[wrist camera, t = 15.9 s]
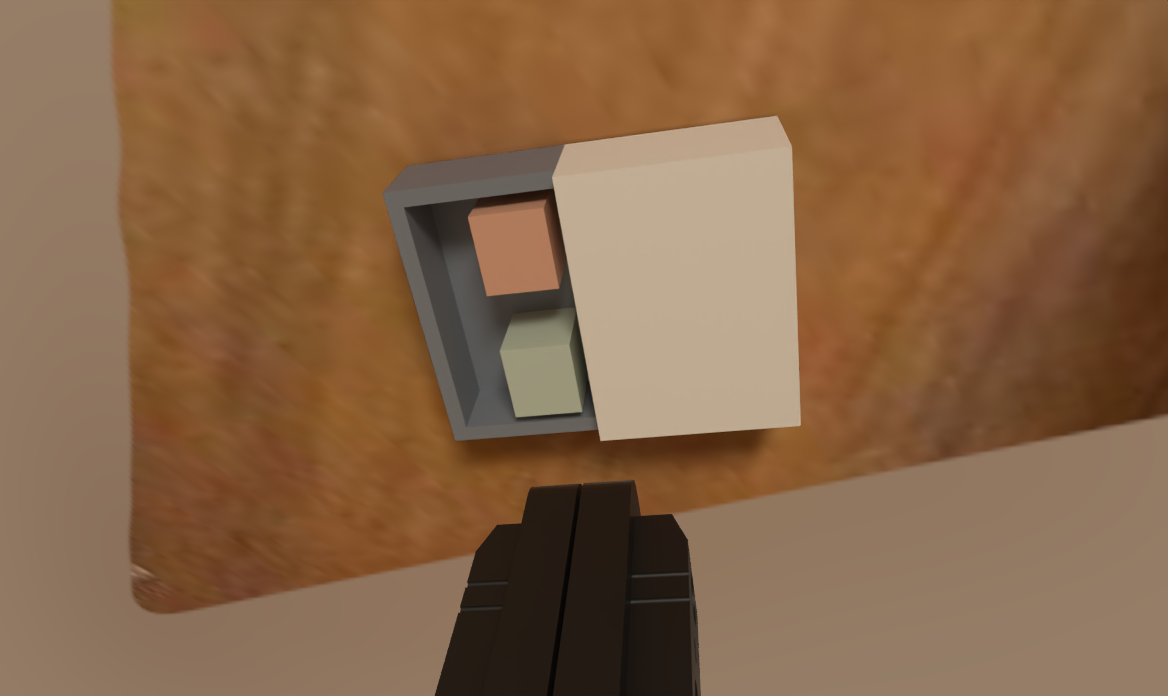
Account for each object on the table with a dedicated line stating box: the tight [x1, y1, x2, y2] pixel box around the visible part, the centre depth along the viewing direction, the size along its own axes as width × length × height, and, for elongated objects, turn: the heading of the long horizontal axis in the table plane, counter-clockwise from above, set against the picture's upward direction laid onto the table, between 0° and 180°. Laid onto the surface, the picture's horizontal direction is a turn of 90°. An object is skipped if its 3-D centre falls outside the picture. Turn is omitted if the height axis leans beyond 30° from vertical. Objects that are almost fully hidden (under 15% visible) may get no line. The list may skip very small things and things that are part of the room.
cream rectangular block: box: [552, 116, 801, 441], centre depth 39 cm, size 10×14×5 cm
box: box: [383, 145, 598, 441], centre depth 41 cm, size 8×14×4 cm, turn 9°
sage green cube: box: [500, 307, 588, 417], centre depth 42 cm, size 4×4×4 cm
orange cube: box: [468, 188, 567, 296], centre depth 38 cm, size 4×4×4 cm
